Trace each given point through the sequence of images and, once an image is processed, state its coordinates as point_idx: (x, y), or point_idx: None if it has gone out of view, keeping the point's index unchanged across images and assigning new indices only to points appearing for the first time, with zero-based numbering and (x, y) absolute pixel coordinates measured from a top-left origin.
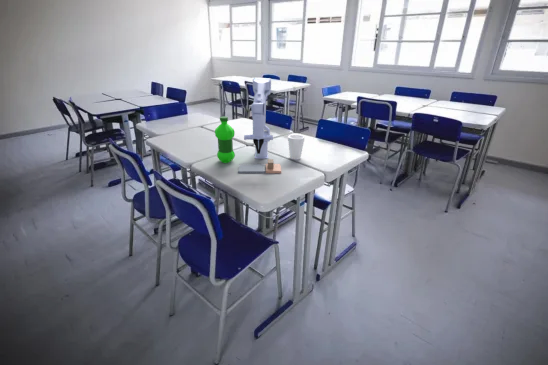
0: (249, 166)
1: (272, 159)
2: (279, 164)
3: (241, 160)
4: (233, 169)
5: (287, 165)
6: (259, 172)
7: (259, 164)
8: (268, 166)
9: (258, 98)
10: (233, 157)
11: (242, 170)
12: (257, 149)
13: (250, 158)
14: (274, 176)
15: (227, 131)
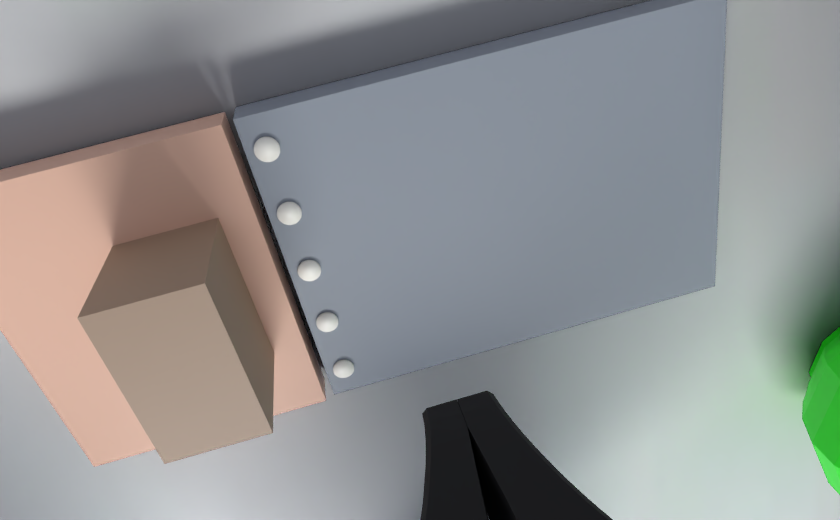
0: (557, 244)
1: (175, 451)
2: (95, 442)
3: (681, 431)
4: (779, 129)
5: (4, 490)
6: (342, 83)
7: (417, 356)
8: (200, 245)
9: None
10: (827, 399)
11: (654, 48)
12: (522, 471)
13: None
14: (4, 12)
15: None
